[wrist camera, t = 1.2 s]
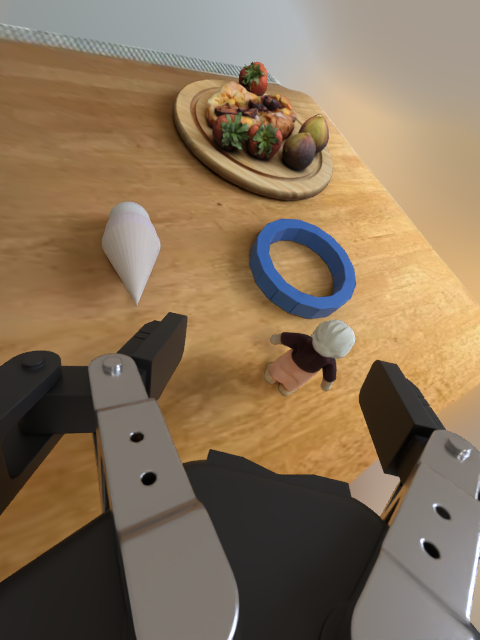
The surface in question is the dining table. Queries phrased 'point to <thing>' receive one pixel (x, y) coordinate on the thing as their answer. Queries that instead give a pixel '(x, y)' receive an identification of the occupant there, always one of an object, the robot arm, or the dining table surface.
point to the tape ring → (286, 293)
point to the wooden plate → (254, 136)
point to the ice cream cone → (131, 246)
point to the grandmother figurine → (310, 356)
